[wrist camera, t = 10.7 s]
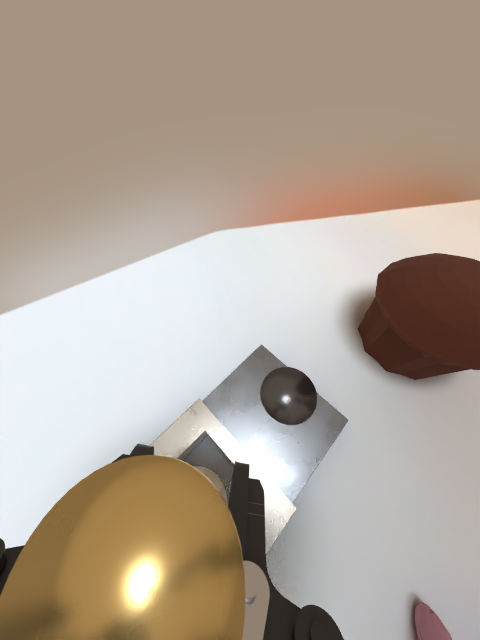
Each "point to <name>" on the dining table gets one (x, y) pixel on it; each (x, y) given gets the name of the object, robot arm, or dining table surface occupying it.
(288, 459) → the link plate lower
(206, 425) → the plate
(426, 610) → the video game controller
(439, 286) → the muffin
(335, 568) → the dining table surface
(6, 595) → the brass pin
